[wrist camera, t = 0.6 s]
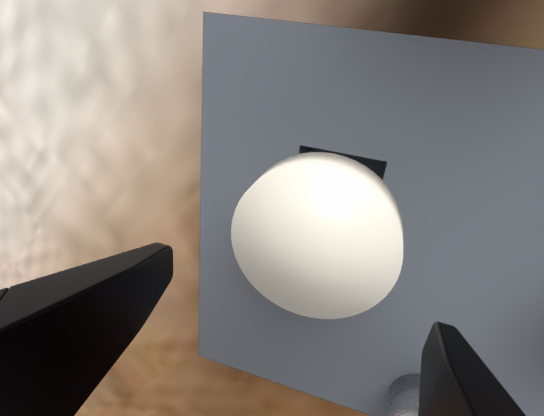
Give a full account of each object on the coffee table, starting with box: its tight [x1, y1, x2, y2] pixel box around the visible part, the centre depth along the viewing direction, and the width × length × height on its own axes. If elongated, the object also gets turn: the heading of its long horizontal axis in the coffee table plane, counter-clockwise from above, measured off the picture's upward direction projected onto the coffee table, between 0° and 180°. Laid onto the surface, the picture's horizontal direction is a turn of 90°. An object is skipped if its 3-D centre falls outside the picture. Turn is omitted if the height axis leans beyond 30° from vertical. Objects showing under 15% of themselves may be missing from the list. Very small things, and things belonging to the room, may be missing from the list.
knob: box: [231, 152, 403, 319], centre depth 13 cm, size 5×5×4 cm
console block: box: [198, 12, 544, 416], centre depth 17 cm, size 24×18×5 cm
